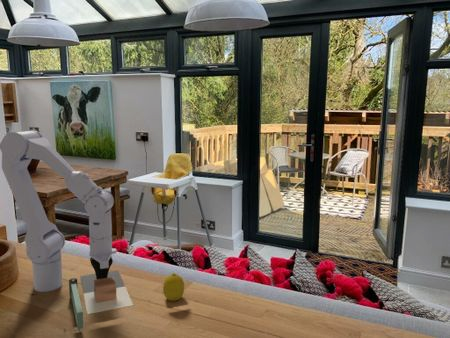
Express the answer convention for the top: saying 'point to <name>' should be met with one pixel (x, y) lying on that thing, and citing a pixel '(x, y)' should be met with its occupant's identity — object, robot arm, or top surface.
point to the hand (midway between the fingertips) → (101, 283)
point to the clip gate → (77, 306)
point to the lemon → (173, 287)
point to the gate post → (71, 281)
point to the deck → (94, 307)
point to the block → (105, 289)
